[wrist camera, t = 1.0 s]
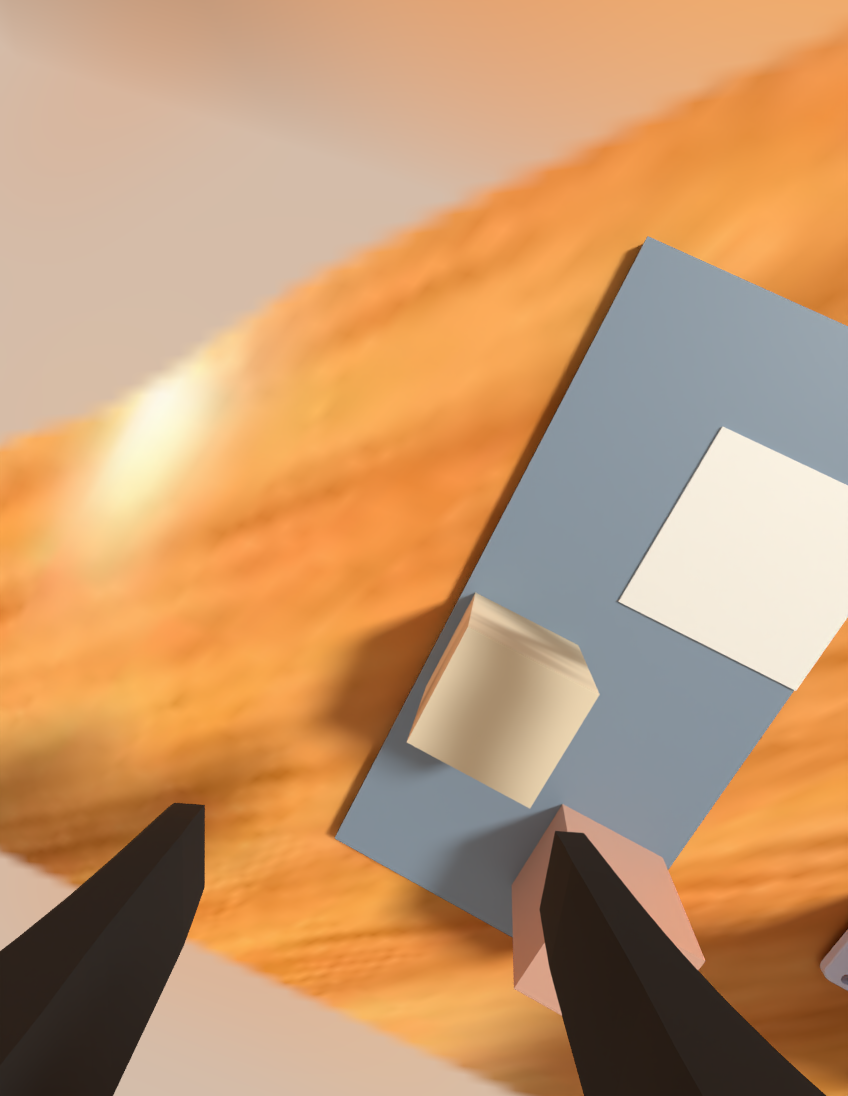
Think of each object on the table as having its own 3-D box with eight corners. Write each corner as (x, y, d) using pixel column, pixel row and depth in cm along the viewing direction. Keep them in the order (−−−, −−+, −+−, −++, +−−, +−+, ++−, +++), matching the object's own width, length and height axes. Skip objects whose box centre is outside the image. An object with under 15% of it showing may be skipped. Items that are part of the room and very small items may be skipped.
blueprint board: (985, 397, 19) (1003, 395, 19) (588, 969, 25) (590, 982, 25) (643, 242, 20) (648, 235, 20) (338, 830, 26) (333, 839, 26)
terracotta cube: (662, 857, 23) (705, 960, 18) (606, 937, 24) (633, 1056, 19) (562, 804, 24) (578, 891, 19) (511, 885, 25) (514, 988, 20)
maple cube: (578, 645, 22) (599, 694, 18) (524, 737, 23) (529, 808, 18) (475, 592, 23) (468, 626, 18) (426, 685, 24) (406, 742, 19)
